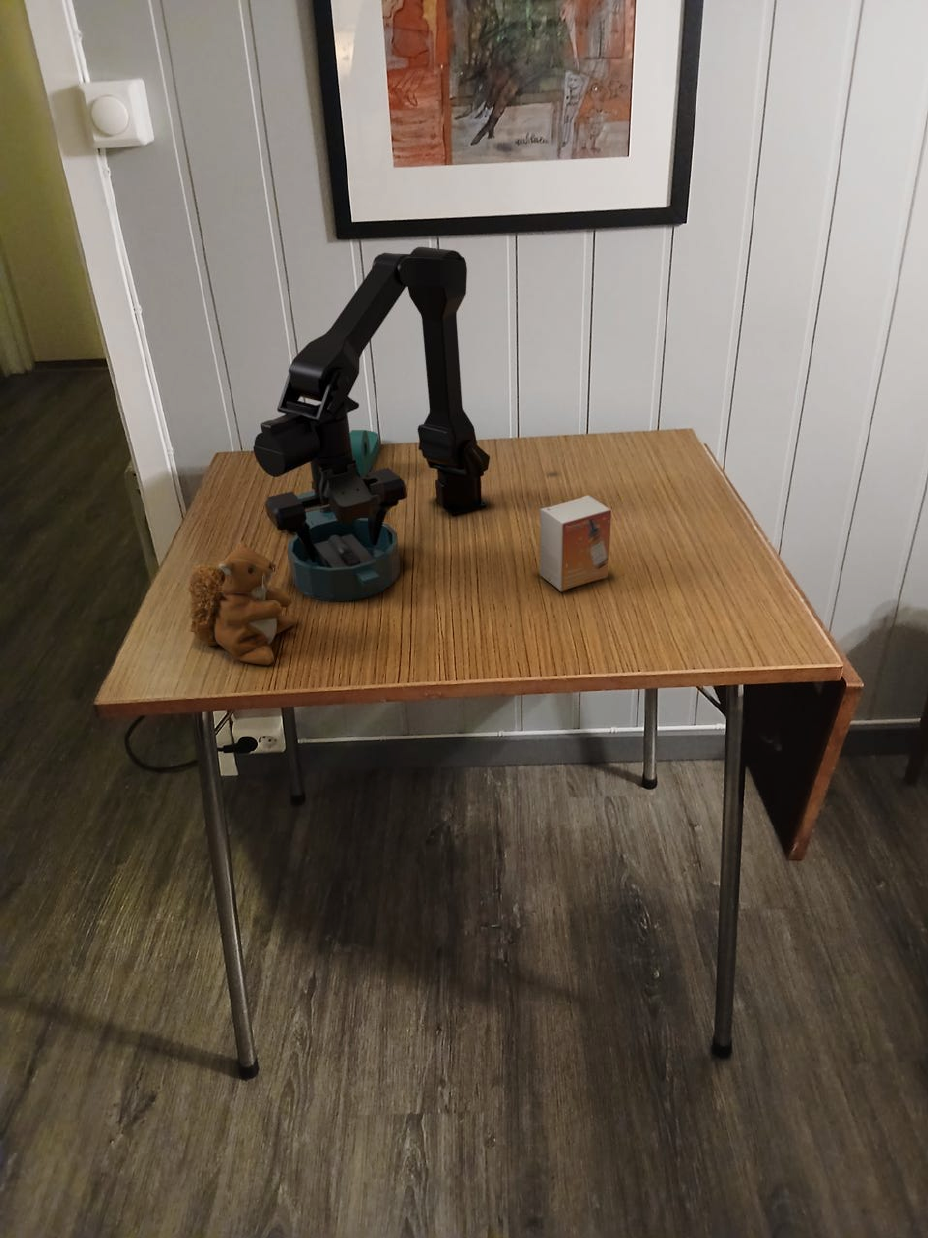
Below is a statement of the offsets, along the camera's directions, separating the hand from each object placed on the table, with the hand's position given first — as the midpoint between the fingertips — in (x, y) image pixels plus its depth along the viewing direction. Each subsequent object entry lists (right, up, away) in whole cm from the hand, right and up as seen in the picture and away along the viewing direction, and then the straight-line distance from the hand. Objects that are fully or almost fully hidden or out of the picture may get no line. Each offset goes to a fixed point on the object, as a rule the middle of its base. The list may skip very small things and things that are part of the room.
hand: (344, 552), depth 132 cm
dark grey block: (0, -2, +2) cm, 3 cm away
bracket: (-2, +19, +36) cm, 41 cm away
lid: (-5, +8, +17) cm, 20 cm away
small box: (+32, -4, -2) cm, 33 cm away
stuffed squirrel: (-12, -12, -11) cm, 20 cm away
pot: (0, -3, +2) cm, 3 cm away
